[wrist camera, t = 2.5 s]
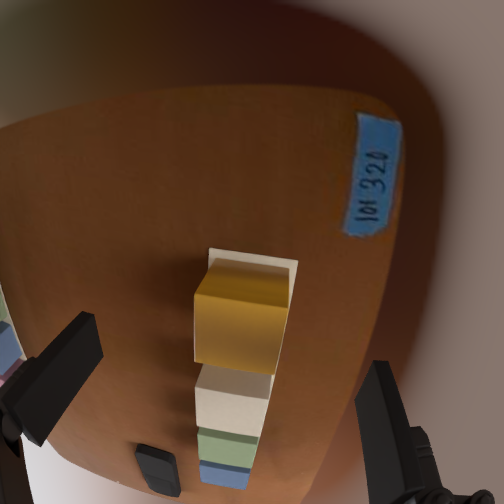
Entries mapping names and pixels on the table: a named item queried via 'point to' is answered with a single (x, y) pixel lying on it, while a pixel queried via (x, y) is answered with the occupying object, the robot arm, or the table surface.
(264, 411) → the white strip with cubes
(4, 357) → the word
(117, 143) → the table surface
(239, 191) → the table surface
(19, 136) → the table surface
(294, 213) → the table surface
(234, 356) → the block
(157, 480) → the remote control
